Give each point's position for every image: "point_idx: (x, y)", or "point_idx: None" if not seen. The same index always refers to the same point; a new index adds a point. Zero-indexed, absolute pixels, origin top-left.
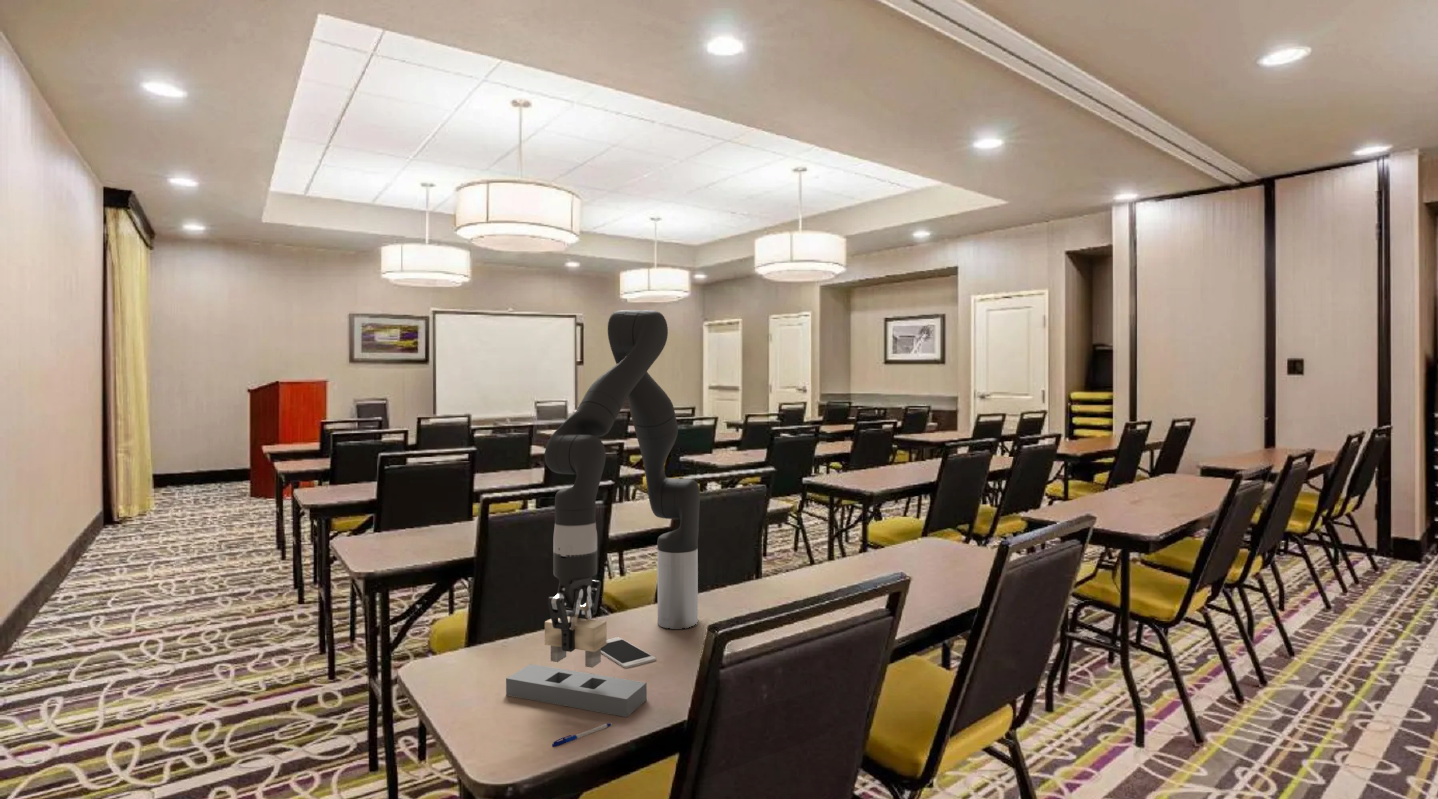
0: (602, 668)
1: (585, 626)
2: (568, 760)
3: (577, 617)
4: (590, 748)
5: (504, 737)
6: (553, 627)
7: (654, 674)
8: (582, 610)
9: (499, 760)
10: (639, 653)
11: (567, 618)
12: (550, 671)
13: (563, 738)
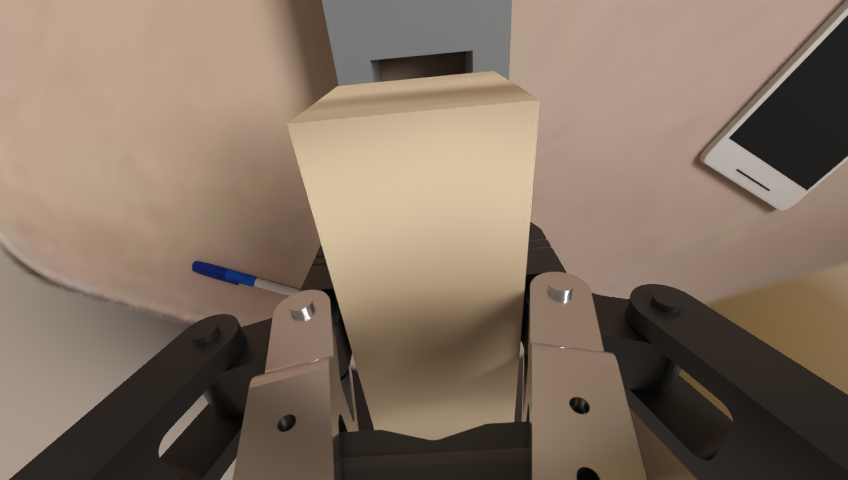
0: (690, 81)
1: (382, 416)
2: (186, 314)
3: (527, 300)
4: (247, 322)
5: (122, 133)
6: (191, 328)
7: (654, 255)
8: (605, 336)
9: (60, 204)
10: (839, 140)
11: (230, 462)
12: (466, 6)
13: (218, 278)
